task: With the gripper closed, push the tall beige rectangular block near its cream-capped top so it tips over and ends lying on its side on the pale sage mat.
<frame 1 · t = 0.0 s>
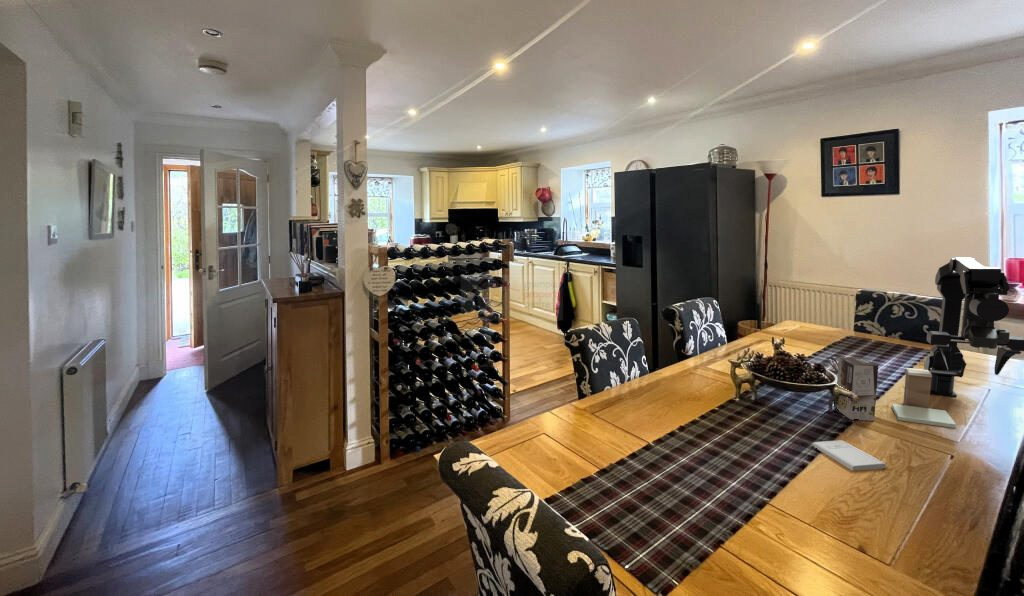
hand: (972, 372, 124), 15 cm above the table, fingers open, 9 cm apart
external hard drive: (847, 459, 112), on the table
coffee box: (854, 415, 136), on the table
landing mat: (922, 416, 132), on the table
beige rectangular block: (915, 406, 140), on the table
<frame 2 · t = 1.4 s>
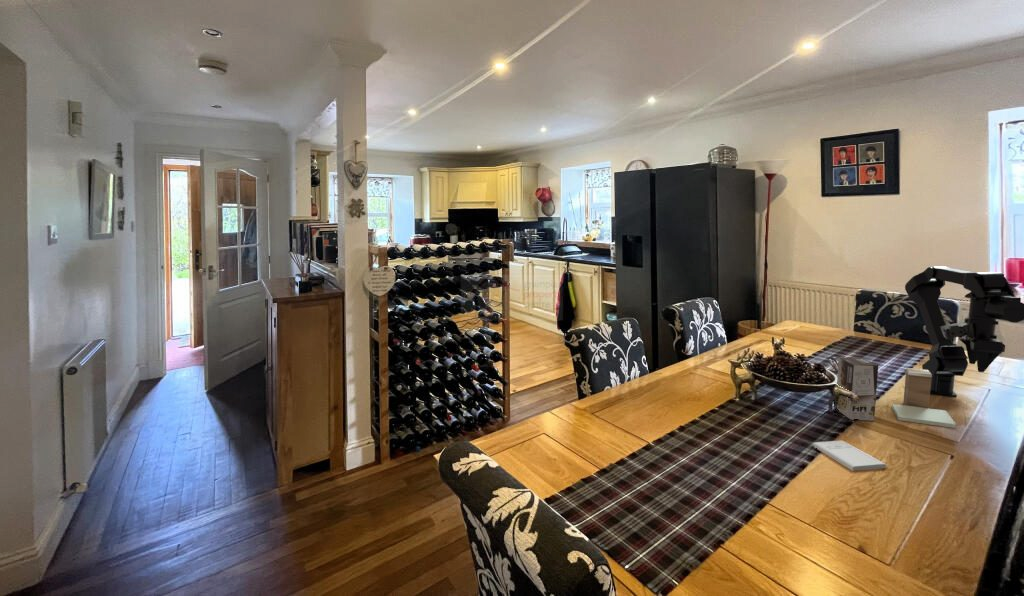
hand: (976, 367, 137), 12 cm above the table, fingers open, 8 cm apart
nothing on the table moved.
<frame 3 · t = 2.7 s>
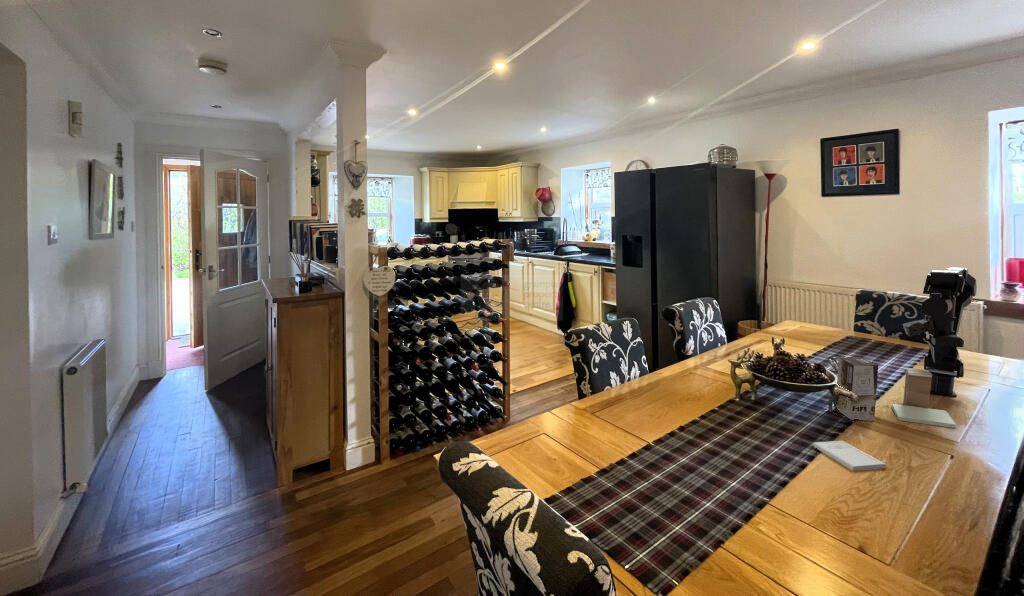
hand: (936, 363, 142), 12 cm above the table, fingers closed
nothing on the table moved.
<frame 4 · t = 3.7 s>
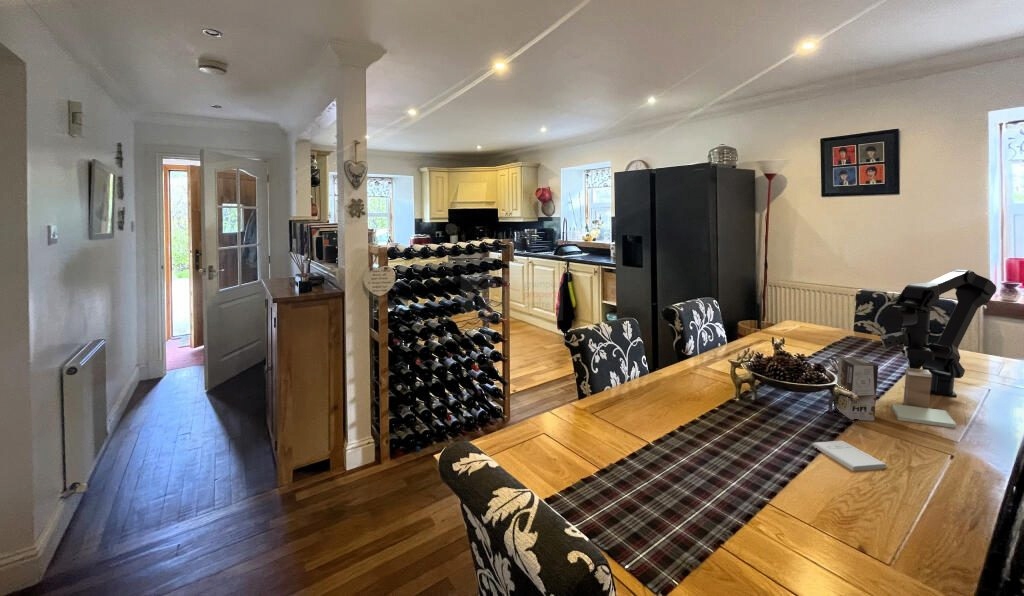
hand: (912, 374, 146), 8 cm above the table, fingers closed
nothing on the table moved.
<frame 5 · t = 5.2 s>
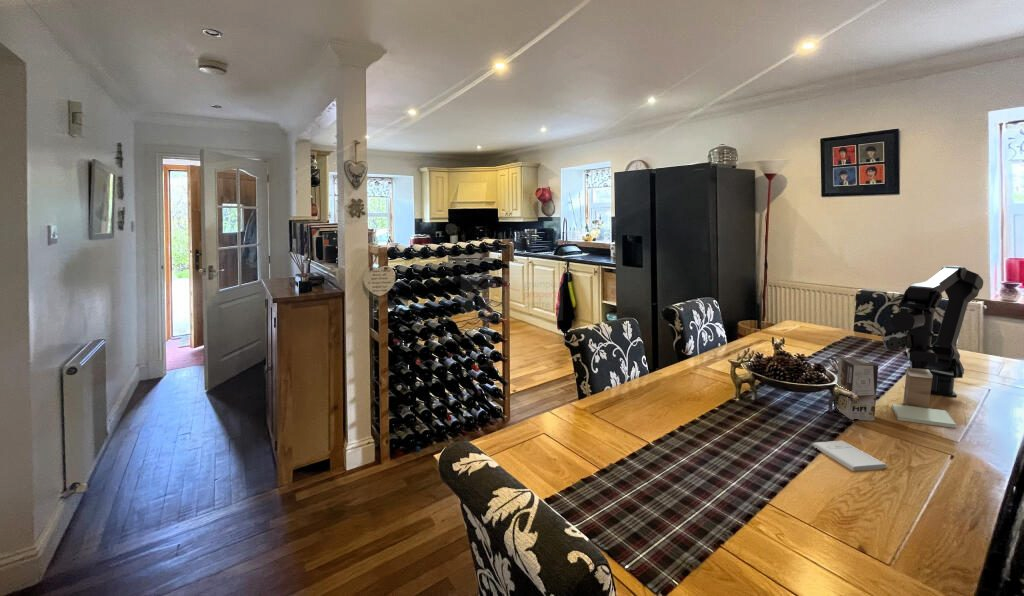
hand: (914, 377, 142), 8 cm above the table, fingers closed
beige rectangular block: (915, 405, 140), on the table, tilted 5°, touching gripper
everything else where it was.
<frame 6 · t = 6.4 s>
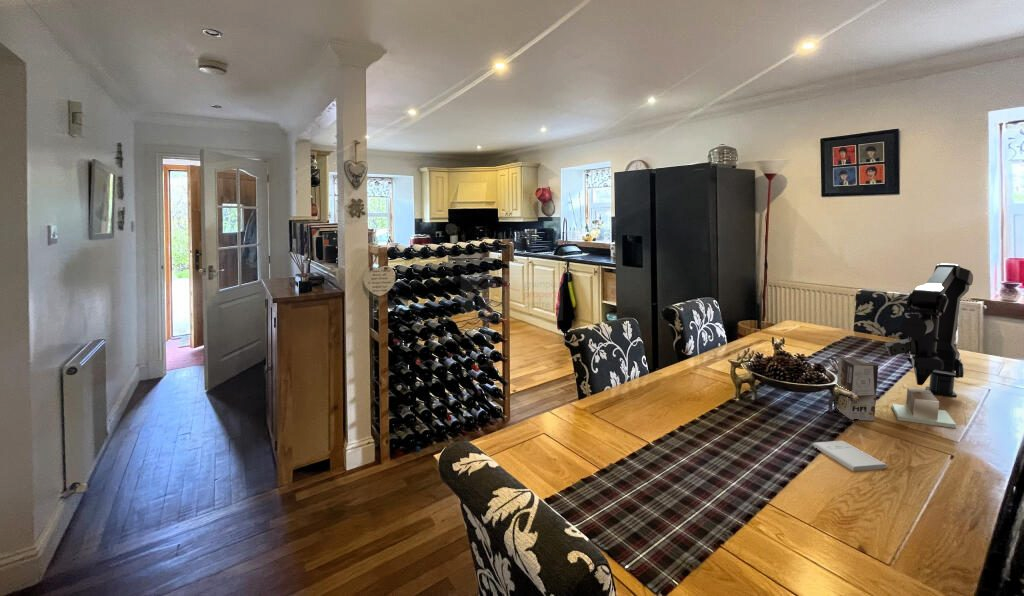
hand: (919, 384, 136), 8 cm above the table, fingers closed
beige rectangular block: (917, 397, 138), point 3 cm above the table, tilted 90°, touching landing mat
everything else where it was.
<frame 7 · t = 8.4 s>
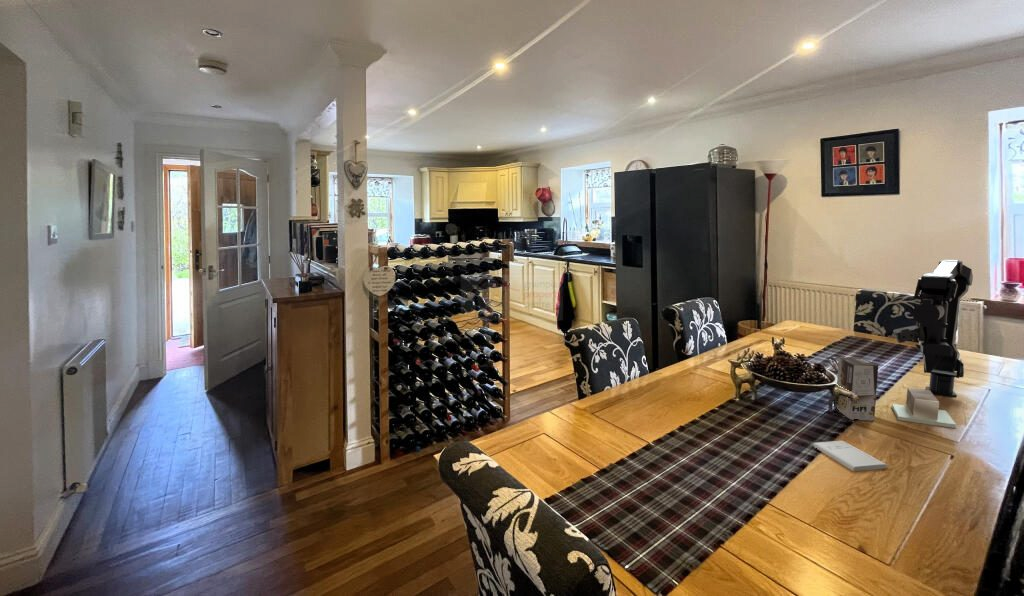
hand: (928, 371, 135), 12 cm above the table, fingers closed
nothing on the table moved.
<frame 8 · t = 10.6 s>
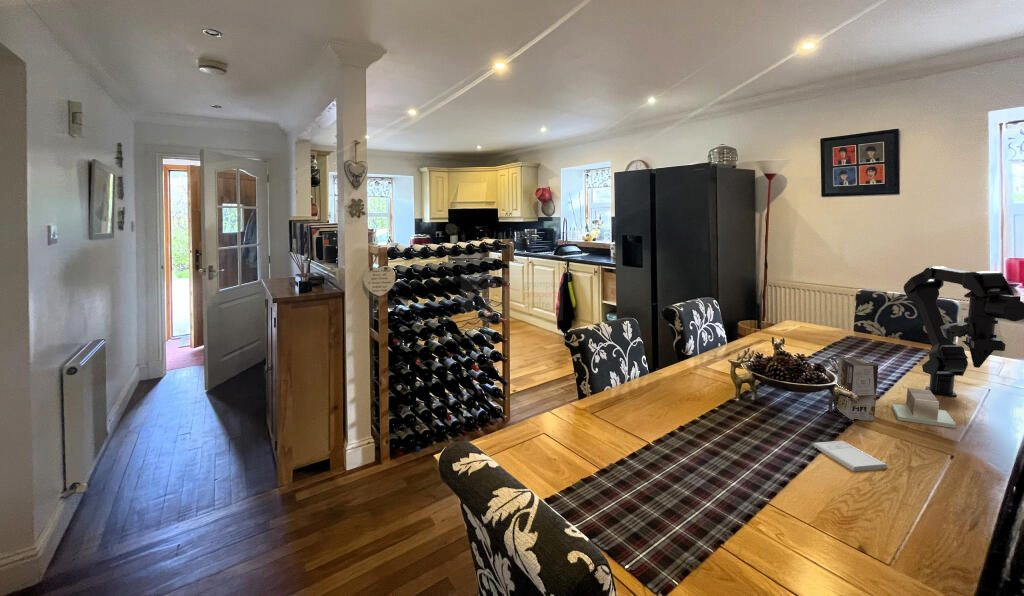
hand: (976, 367, 137), 12 cm above the table, fingers closed
nothing on the table moved.
at the end: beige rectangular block tilted 90°; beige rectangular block touching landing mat; the gripper is holding nothing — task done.
